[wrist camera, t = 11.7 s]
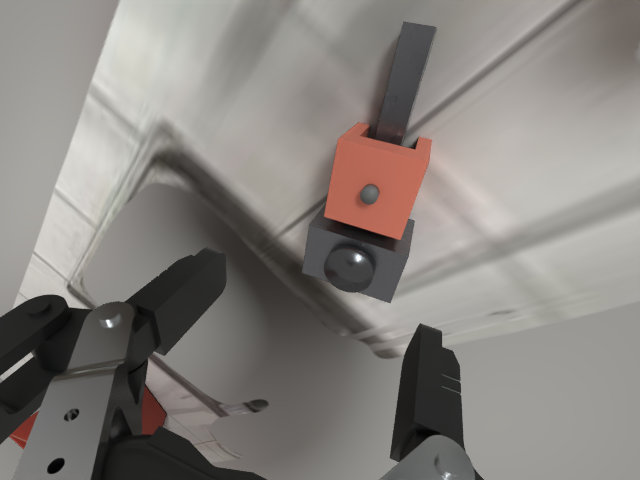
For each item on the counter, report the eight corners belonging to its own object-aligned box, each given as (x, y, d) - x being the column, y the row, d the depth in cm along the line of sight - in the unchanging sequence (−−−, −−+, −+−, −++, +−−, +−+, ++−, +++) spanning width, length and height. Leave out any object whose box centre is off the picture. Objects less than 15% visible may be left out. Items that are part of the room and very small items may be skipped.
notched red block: (358, 122, 25) (334, 141, 20) (431, 139, 24) (428, 165, 18) (344, 188, 28) (320, 221, 23) (407, 207, 27) (399, 245, 22)
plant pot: (130, 412, 79) (64, 486, 65) (87, 360, 71) (2, 433, 57) (184, 425, 71) (123, 513, 58) (144, 369, 63) (61, 456, 49)
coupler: (364, 17, 21) (337, 4, 16) (483, 37, 20) (499, 30, 14) (323, 239, 32) (297, 279, 26) (398, 263, 30) (388, 311, 25)
